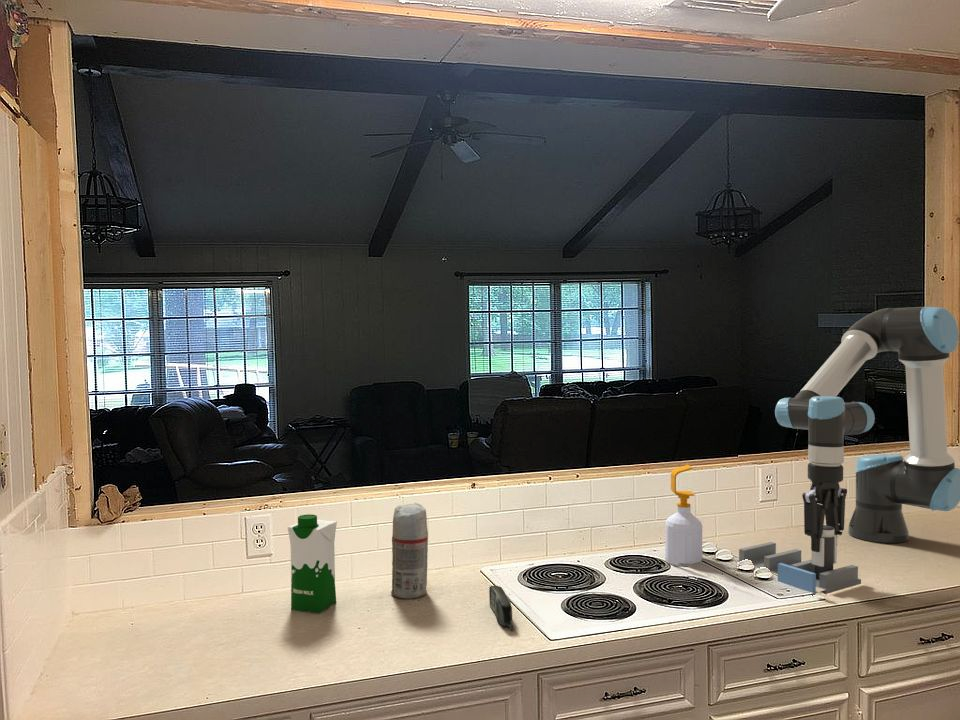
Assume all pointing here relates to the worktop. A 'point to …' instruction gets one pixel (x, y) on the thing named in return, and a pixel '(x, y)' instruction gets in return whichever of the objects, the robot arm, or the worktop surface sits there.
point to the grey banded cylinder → (826, 551)
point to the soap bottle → (682, 529)
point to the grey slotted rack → (799, 566)
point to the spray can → (409, 551)
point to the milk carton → (312, 564)
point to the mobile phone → (501, 606)
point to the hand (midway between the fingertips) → (824, 563)
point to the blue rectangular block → (797, 577)
